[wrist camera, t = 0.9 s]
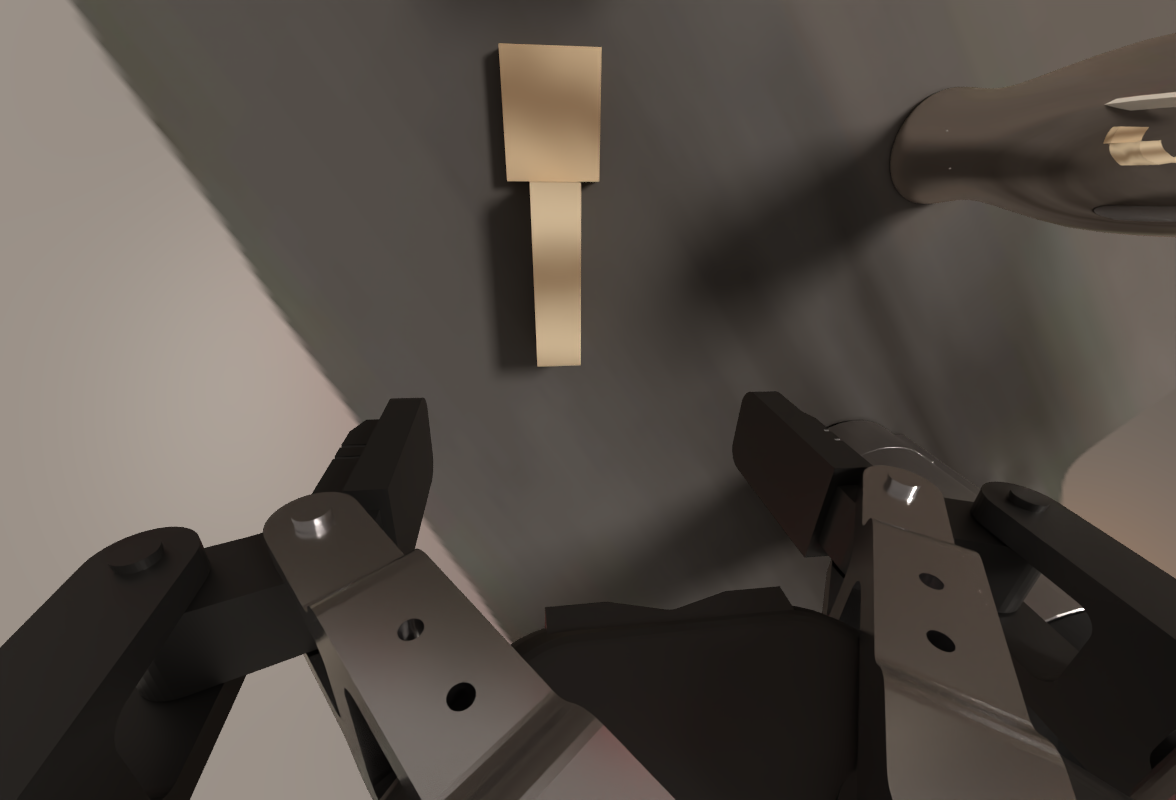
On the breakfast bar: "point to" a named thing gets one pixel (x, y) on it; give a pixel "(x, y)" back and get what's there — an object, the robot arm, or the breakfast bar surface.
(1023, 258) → the breakfast bar surface
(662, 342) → the breakfast bar surface
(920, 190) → the beer glass
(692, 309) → the breakfast bar surface
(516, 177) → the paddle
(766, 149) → the breakfast bar surface
